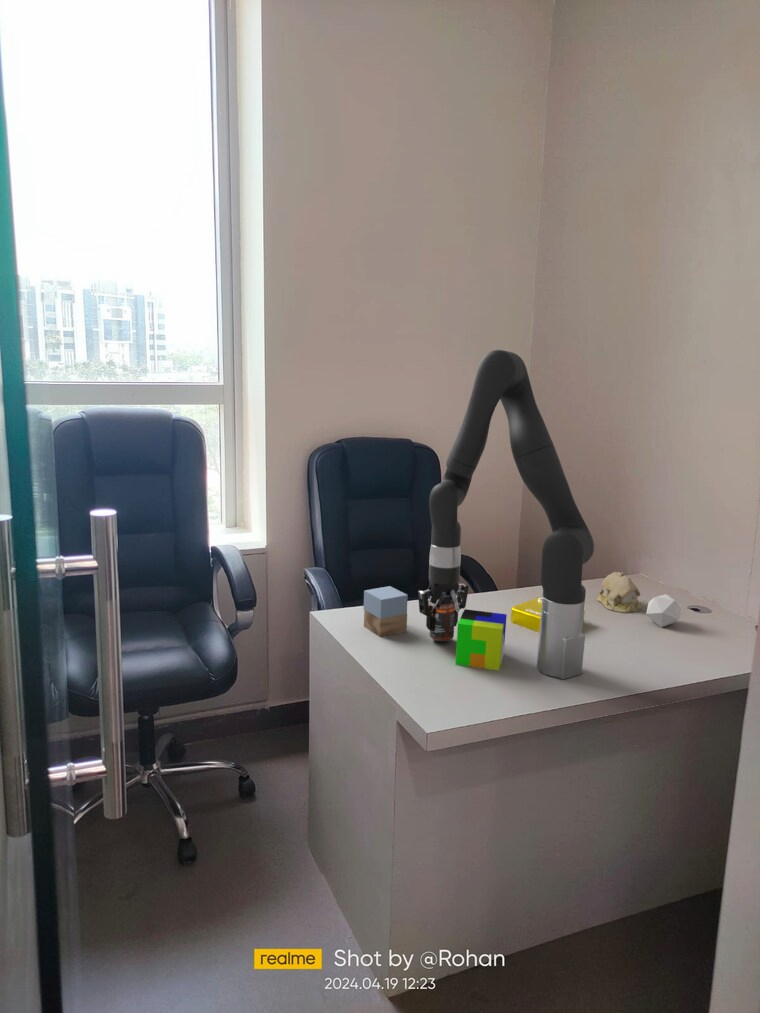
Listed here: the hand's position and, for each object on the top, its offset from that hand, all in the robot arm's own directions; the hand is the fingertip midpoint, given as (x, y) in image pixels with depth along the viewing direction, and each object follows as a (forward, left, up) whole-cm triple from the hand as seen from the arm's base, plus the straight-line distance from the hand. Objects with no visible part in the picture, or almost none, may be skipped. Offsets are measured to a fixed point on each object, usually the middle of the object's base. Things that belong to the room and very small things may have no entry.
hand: (442, 627), depth 179 cm
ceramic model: (-1, -63, -4) cm, 63 cm away
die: (-18, -61, -4) cm, 64 cm away
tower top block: (+13, +8, +1) cm, 16 cm away
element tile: (-3, -33, -4) cm, 33 cm away
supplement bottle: (0, 0, -3) cm, 3 cm away
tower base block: (+13, +8, -4) cm, 16 cm away
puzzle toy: (-13, -2, -4) cm, 13 cm away
